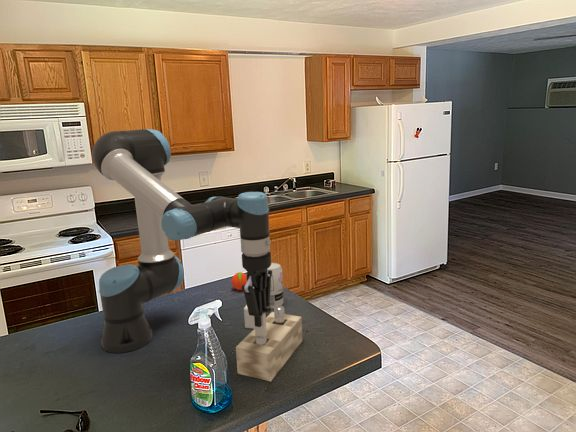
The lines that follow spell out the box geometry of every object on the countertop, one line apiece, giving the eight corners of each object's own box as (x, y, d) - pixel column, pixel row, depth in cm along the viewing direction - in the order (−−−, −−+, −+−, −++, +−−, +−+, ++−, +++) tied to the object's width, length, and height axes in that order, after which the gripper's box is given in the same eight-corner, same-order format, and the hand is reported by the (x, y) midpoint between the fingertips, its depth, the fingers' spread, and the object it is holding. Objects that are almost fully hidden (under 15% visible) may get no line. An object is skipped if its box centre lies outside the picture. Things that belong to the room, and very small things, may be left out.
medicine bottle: (265, 329, 139) (264, 295, 136) (244, 328, 141) (242, 294, 138) (271, 319, 146) (269, 286, 143) (250, 318, 147) (248, 285, 145)
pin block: (237, 373, 116) (235, 346, 114) (273, 335, 136) (272, 311, 134) (270, 381, 112) (269, 354, 110) (302, 340, 132) (301, 316, 130)
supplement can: (258, 301, 160) (256, 263, 156) (280, 298, 162) (278, 260, 159) (264, 311, 152) (262, 271, 149) (286, 307, 155) (284, 268, 151)
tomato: (250, 293, 168) (249, 276, 167) (232, 294, 167) (231, 277, 166) (249, 285, 176) (248, 268, 174) (232, 286, 175) (230, 270, 174)
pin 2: (273, 332, 127) (272, 308, 126) (277, 327, 130) (276, 304, 128) (282, 334, 126) (281, 310, 124) (286, 329, 129) (285, 306, 127)
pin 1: (254, 362, 117) (253, 337, 116) (259, 356, 120) (258, 332, 118) (264, 364, 116) (263, 339, 114) (269, 358, 119) (268, 334, 117)
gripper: (257, 261, 104) (262, 349, 109) (279, 246, 115) (283, 326, 120) (230, 258, 107) (236, 344, 112) (255, 243, 118) (260, 322, 124)
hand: (261, 335), depth 116 cm, fingers closed
